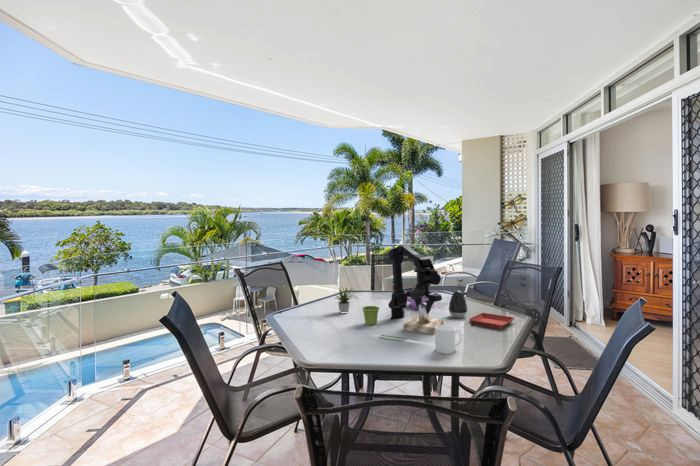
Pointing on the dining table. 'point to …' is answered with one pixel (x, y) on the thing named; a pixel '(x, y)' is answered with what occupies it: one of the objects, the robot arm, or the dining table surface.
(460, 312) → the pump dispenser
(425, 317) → the grey metallic cylinder
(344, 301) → the house plant
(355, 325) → the dining table surface
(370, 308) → the plant pot
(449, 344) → the cup
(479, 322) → the plant saucer
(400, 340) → the mat
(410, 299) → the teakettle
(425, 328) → the housing
